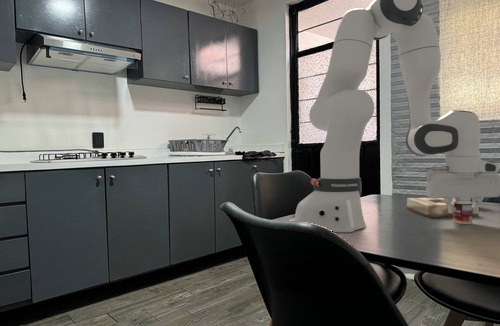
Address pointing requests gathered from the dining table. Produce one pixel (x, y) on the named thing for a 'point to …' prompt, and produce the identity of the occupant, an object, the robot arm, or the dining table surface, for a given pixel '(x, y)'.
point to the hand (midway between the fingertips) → (462, 212)
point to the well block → (431, 207)
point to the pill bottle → (463, 210)
